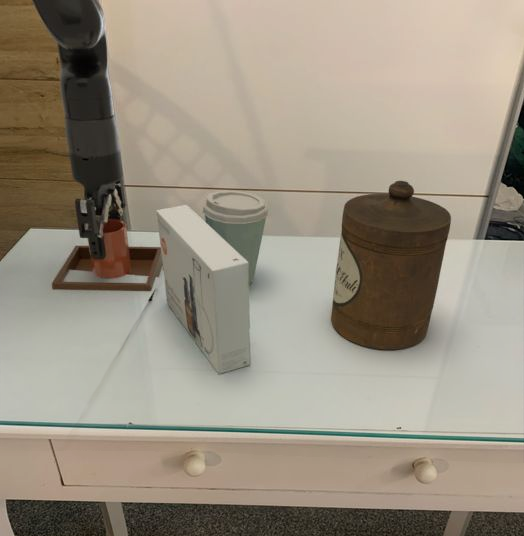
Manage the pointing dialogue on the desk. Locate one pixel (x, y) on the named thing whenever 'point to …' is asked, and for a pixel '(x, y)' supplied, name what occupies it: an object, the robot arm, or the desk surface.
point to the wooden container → (388, 267)
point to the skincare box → (206, 287)
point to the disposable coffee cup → (238, 222)
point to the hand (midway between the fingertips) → (108, 247)
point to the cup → (113, 251)
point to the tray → (142, 264)
